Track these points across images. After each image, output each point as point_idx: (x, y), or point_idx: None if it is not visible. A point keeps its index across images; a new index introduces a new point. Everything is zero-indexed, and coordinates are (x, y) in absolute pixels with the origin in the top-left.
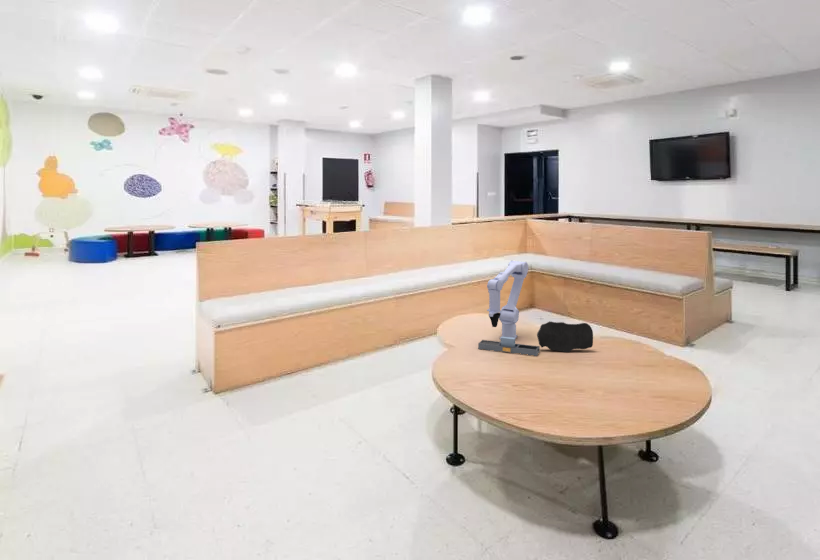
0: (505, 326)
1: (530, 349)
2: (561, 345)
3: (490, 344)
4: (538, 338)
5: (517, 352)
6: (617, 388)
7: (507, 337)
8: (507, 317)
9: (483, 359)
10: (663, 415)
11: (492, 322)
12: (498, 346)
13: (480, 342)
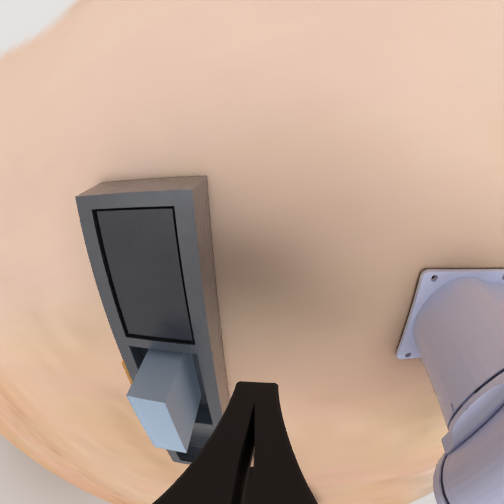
0: (454, 386)
1: (169, 450)
2: None
3: (109, 293)
4: (247, 495)
5: None
6: (106, 485)
7: (162, 426)
8: (477, 469)
9: (5, 271)
10: (74, 483)
11: (223, 443)
12: (119, 342)
13: (107, 202)
